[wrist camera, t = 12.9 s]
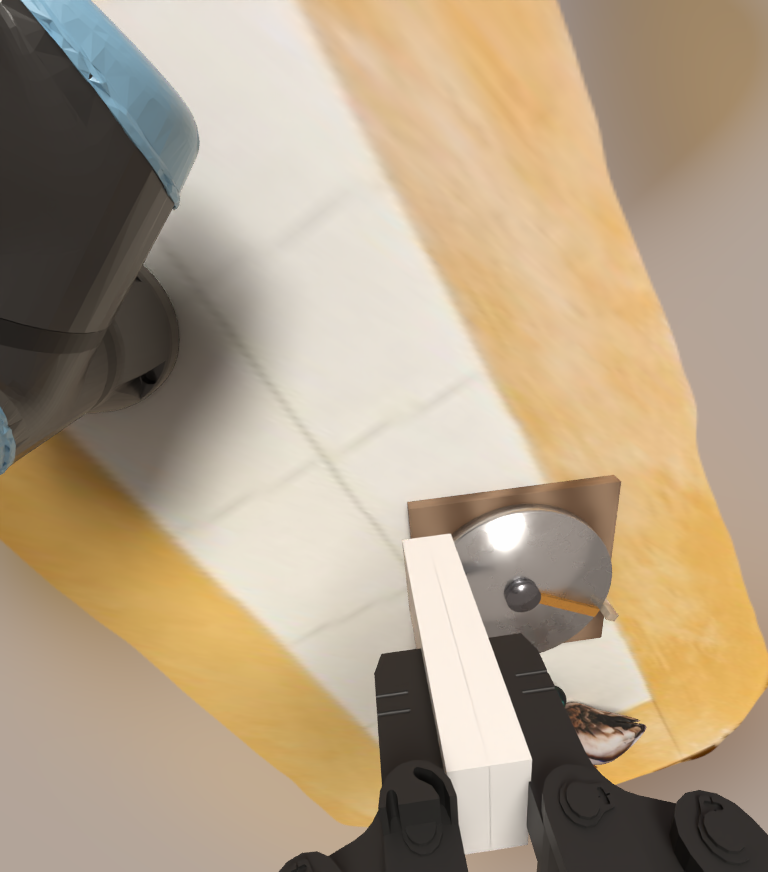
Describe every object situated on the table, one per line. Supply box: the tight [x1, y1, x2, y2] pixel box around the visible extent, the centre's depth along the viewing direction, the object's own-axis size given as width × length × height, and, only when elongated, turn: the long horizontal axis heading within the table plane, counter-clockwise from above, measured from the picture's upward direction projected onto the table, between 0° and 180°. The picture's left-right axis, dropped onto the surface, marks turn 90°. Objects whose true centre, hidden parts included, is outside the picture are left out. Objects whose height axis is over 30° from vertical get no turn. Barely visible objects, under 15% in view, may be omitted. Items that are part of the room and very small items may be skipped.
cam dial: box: [451, 504, 612, 653], centre depth 46 cm, size 23×22×19 cm
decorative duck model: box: [555, 686, 646, 768], centre depth 64 cm, size 15×8×15 cm
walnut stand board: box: [407, 475, 621, 643], centre depth 54 cm, size 24×24×4 cm
